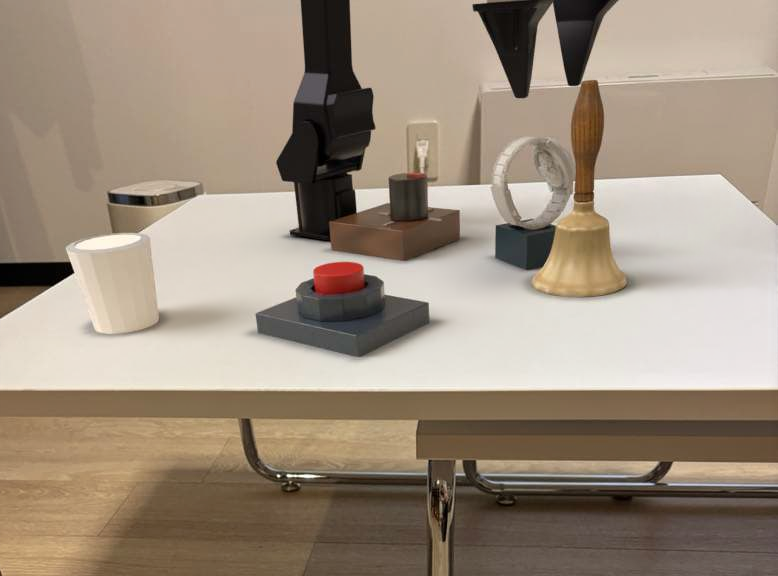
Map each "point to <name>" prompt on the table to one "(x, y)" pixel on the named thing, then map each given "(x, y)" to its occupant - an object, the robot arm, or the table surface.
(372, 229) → the dial panel
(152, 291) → the white cup
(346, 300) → the button box
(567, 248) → the hand bell
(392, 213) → the dial
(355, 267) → the button
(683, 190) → the table surface
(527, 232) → the watch
